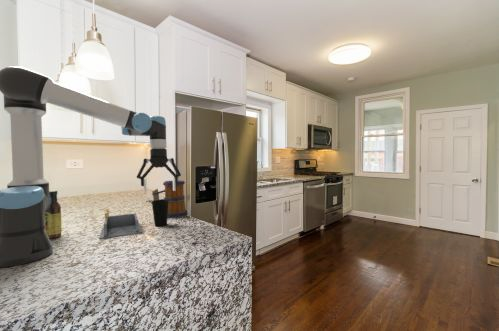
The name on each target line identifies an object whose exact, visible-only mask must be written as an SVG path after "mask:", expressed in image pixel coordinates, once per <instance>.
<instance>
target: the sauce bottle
mask: <svg viewBox="0 0 499 331" xmlns="http://www.w3.org/2000/svg"><path fill="white" fill-rule="evenodd" d="M49 194H50V197H51V205H50V207H49V209H48V210H47V211H46V212H45V231H46V233H47V235H48V237H49V238H50V239H56V238H59V237H61V235H62V232H63V230H62V210H61V208H62V206H61V204H60V203H59V201H58V190H55V189H53V190H49Z"/></svg>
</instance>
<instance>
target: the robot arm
mask: <svg viewBox="0 0 499 331" xmlns="http://www.w3.org/2000/svg"><path fill="white" fill-rule="evenodd" d="M0 92H1V93H2V95H3V109H4V111H6V112H7V113H8V114H9V116H10V141H11V142H10V144H11V161H12V162H11V163H12V164H11V165H12V180H11V181H10V182H9V183H8V184H6V186H7V188H3V189H0V268H7V267H8V268H9V267H14V266H20V265H24V264H29V263H32V262H36V261H39V260H41V259H44V258H47V257H49V256H50V255H51V254H53V252H54V250H53V247H54V246H53V243H52V241H51V240H50V239H51V238H50V239H49V237H48V235H47V233H46V231H45V212H46V211H47V210H48V209H49V207H50V205H51V197H50V194H49V191H50V182H49V181H48V180H47V179H45V178H44V156H43V154H44V152H43V151H44V150H43V126H42V123H43V122H42V117H43V116H44V115H46V114H47V104H49V105H50V104H51V105H54V106H57V107H60V108H63V109H66V110H70V111H73V112H75V113H79V114H81V115H85V116H88V117H91V118H93V119H97V120H100V121H103V122H105V123H109V124H113V125H115V126H119V127H120V130H121V134H122V135H124V136H130V137H131V136H133V137H134V136H137V137H138V136H140V137H149V148H150V150H149V154H150V158H143V161H142V165H141V167H140V169H139V171H138V173H137V175H136V178H137V179H139V180H140V186H141V187H143V194H147V182H146V181H147V180H146V179H145V178H146V176H148V174H149V173H150V172H151V171H152V170H153V169H154V168H155V169H157V168H165V169H166V170H167V171H168V172H169V173H170V174H171V175H172V181H173V191H176V188H175V184H177V180H178V178H179V177H181V176H182V174H181V172H180V170H179V169H178V167H177V164H176V163H175V159H174V158H173V157H170V158H168V155H167V154H168V152H167V151H168V149H167V124H166V118H165V117H164V116H159V115H152V116H149V115H148V114H147V113H145V112H136V111H133V110H130V109H128V108H125V107H122V106H120V105H116V104H114V103H111V102H108V101H106V100H103V99H101V98H98V97H95V96H92V95H90V94H87V93H84V92H81V91H78V90H77V89H73V88H71V87H68V86H65V85H63V84H60V83H57V82H56V81H54V80H53V79H52V78H51V77H49V76H47V75H44V74H43V73H39V72H36V71H34V70H31V69H29V68H26V67H23V66H16V65H15V66H12V65H11V66H7V67H4V68H2V69H0ZM168 162H169V163H170V165H171V166H172V168H173V169H174V171H175V172H174V171H173V170H172V169H171V168H170V167H169V165H168ZM148 163H150V166H149V167H148V168H147V170H145V172H144V169H145V167H146V166H147V164H148ZM143 172H144V173H143Z"/></svg>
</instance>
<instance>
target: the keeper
mask: <svg viewBox="0 0 499 331" xmlns="http://www.w3.org/2000/svg"><path fill="white" fill-rule="evenodd" d="M109 211H110V210H109V209H107V208H106V209H104V222H103V227H102V228H101V232H100V236H99V240H105V239H110V238H117V237H124V236H129V235H130V236H131V235H137V234H143V229H142V226H141V222H139V218H138V216H137V213H134V212H133V213H128V214H127V213H126V214H119V215H109V214H110V212H109ZM104 238H105V239H104Z"/></svg>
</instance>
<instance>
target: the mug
mask: <svg viewBox="0 0 499 331" xmlns="http://www.w3.org/2000/svg"><path fill="white" fill-rule="evenodd" d="M185 183H186V182H185V180H182V179H181V180H179V179H177V184H175V188H176V191H173V180H165V181H164V182H163V183H162V185H163V186H164V189H162V190H161V191H159V190H158V188H155V189H154V190H152V192H151V193H152V194H151V195H152V199H153V200H152V201H155V200H160V194H163V193H164V200H168V215H167V219H169V218H172V219H180V218H179V217H181V218H185V217H187V216H189V214H188V210H187V209H186V203H185V192H184V185H185ZM185 215H186V216H185ZM184 216H185V217H184Z"/></svg>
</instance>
